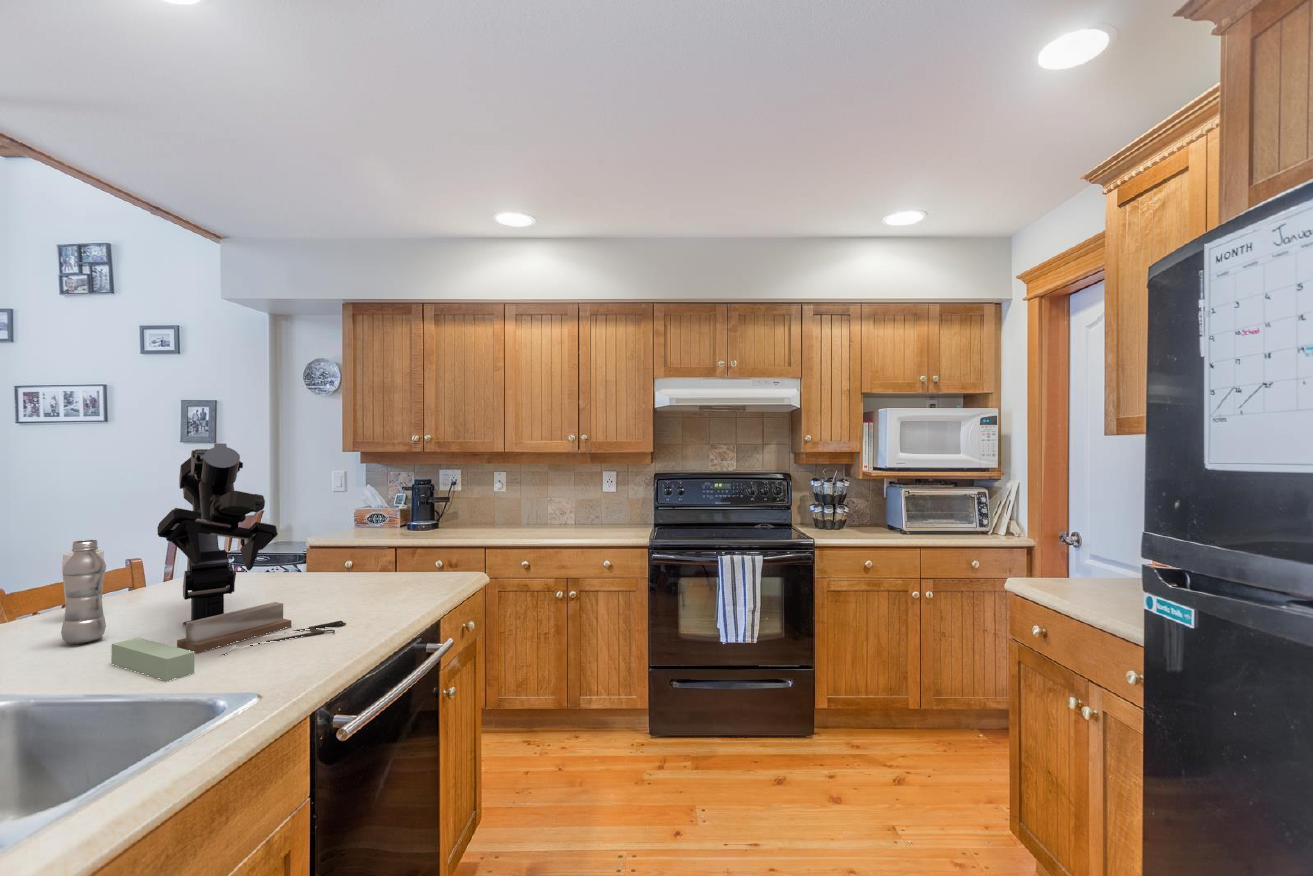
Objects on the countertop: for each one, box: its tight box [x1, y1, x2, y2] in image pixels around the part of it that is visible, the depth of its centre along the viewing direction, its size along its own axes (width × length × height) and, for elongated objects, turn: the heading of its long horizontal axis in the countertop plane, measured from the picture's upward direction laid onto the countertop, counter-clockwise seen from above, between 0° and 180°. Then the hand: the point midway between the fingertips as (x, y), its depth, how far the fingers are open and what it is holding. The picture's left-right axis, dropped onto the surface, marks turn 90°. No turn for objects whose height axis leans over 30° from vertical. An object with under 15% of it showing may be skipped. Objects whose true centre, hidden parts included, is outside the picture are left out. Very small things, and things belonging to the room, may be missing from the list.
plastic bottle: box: [60, 539, 107, 644], centre depth 119 cm, size 6×7×20 cm
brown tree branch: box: [221, 620, 347, 656], centre depth 121 cm, size 24×10×2 cm, turn 124°
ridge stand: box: [176, 601, 292, 654], centre depth 123 cm, size 7×18×5 cm, turn 155°
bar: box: [110, 637, 196, 682], centre depth 105 cm, size 18×4×4 cm, turn 65°
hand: (224, 566), depth 112 cm, fingers open, 9 cm apart
